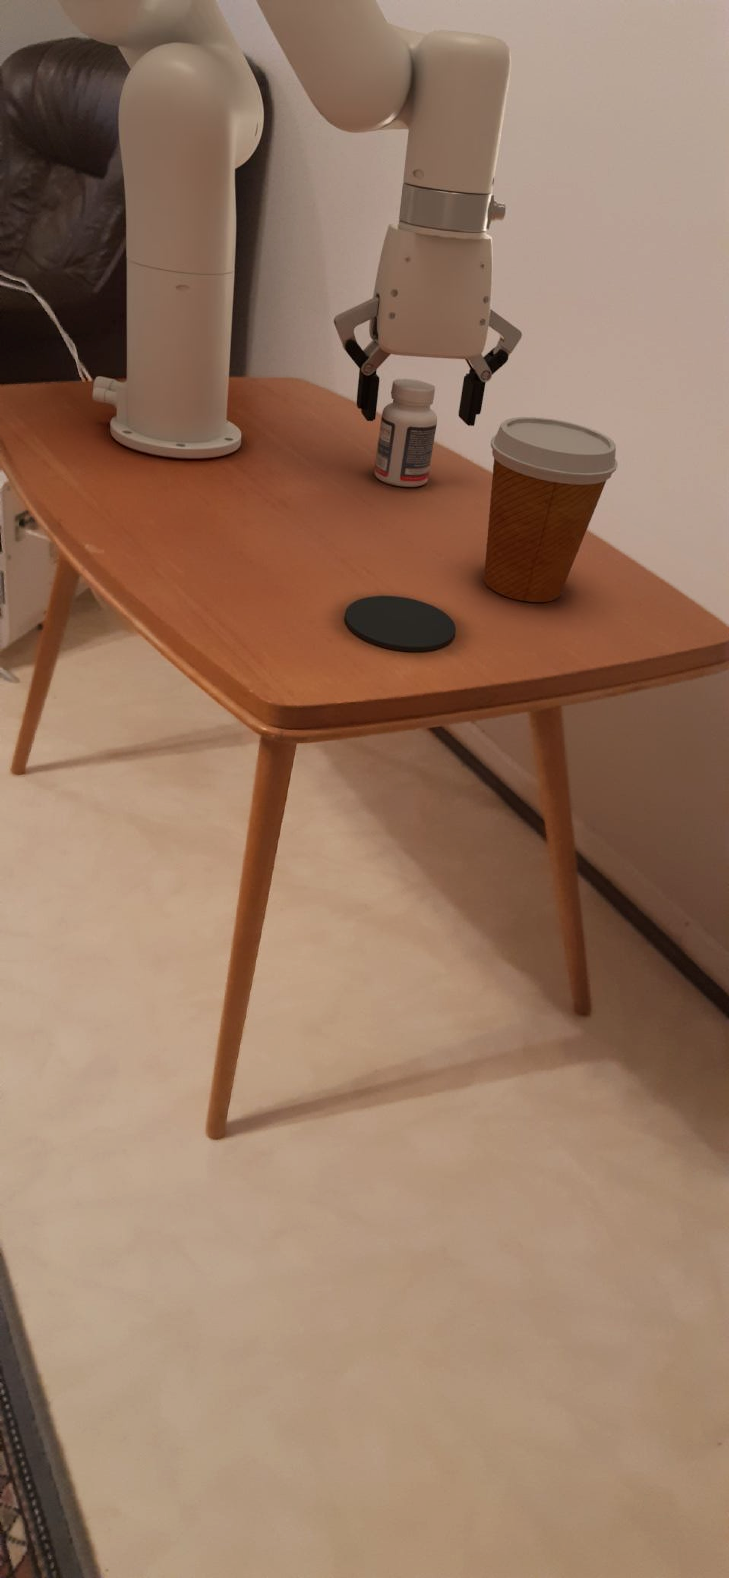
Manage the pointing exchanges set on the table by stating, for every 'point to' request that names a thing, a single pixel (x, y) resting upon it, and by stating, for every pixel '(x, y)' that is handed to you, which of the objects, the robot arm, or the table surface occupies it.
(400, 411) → the pill bottle
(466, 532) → the table surface
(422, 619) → the corner coaster
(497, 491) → the disposable coffee cup
